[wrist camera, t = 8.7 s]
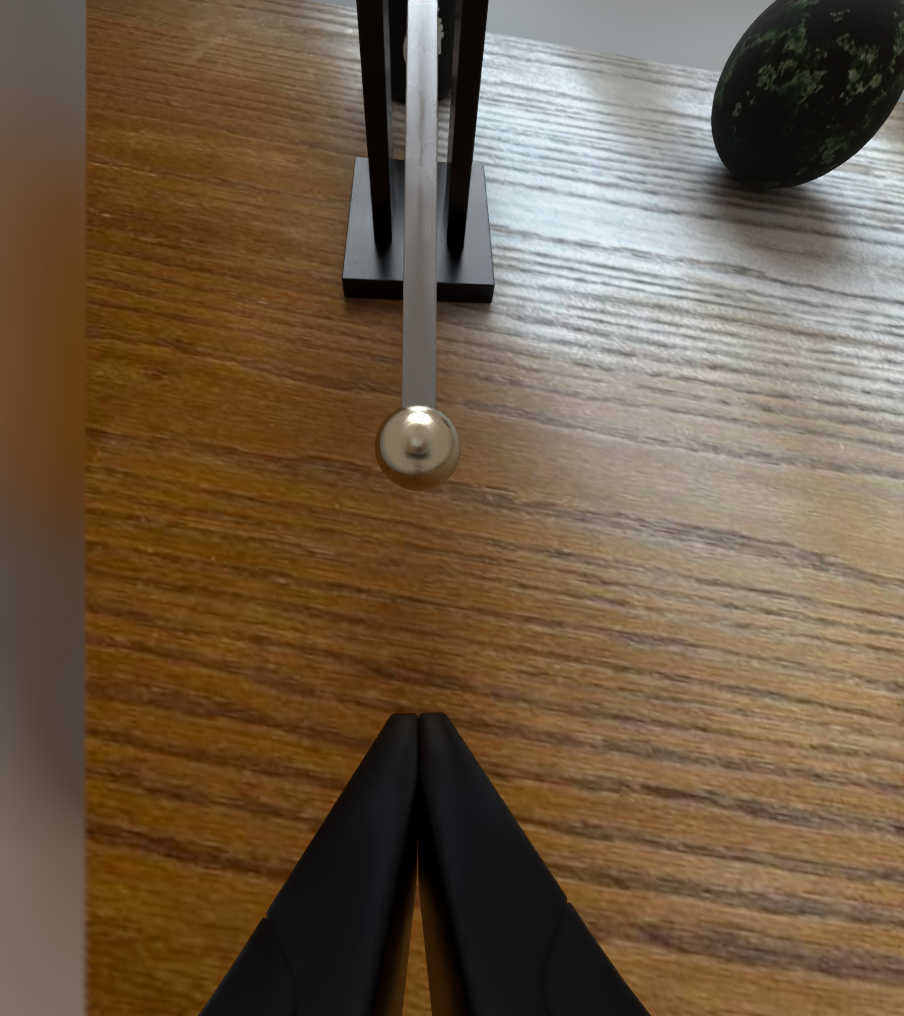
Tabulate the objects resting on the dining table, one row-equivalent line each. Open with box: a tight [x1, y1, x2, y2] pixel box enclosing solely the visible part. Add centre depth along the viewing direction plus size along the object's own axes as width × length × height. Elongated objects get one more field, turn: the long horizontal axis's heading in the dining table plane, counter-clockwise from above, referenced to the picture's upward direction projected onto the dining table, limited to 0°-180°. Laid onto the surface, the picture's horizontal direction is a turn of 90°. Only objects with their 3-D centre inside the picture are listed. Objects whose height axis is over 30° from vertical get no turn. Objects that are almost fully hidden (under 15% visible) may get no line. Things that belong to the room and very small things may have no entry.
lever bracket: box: [342, 0, 495, 303], centre depth 23 cm, size 11×8×14 cm
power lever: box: [375, 0, 461, 491], centre depth 17 cm, size 23×3×3 cm, turn 1°
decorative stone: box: [711, 0, 904, 189], centre depth 31 cm, size 10×10×10 cm
